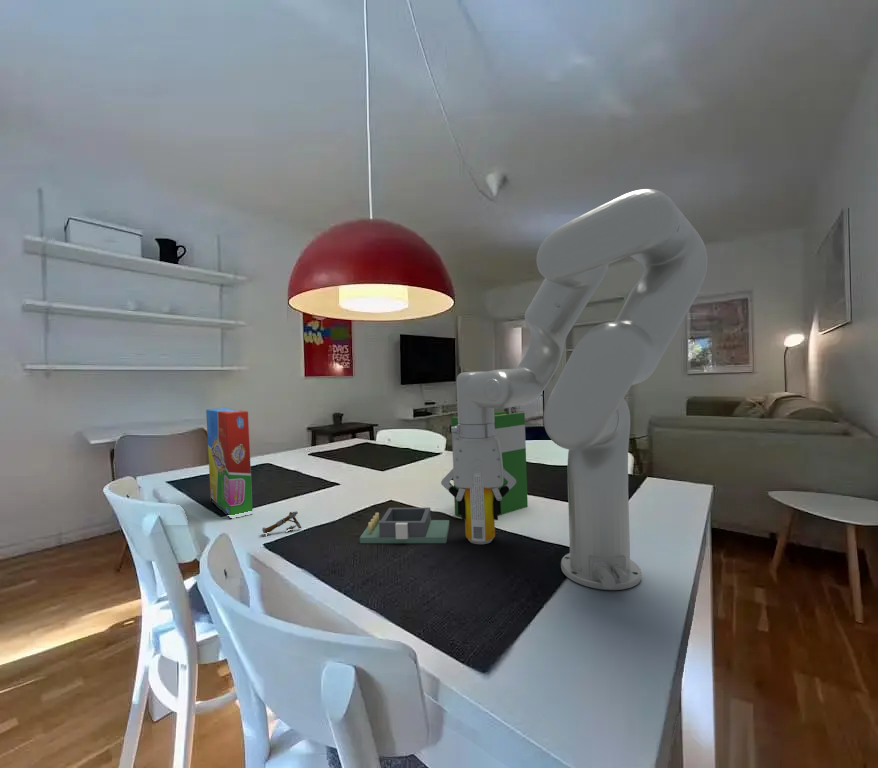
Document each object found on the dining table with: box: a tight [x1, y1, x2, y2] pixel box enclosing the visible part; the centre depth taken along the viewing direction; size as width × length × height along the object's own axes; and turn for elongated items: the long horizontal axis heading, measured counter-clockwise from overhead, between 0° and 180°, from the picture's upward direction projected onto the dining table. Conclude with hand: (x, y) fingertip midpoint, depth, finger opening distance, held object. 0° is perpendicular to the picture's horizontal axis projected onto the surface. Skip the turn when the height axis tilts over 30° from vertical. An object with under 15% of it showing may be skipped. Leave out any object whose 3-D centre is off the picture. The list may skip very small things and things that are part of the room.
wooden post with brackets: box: [261, 511, 302, 534], centre depth 94 cm, size 2×8×4 cm, turn 110°
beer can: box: [464, 473, 496, 545], centre depth 86 cm, size 6×6×15 cm
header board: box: [359, 507, 450, 544], centre depth 90 cm, size 11×18×4 cm, turn 85°
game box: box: [205, 407, 253, 515], centre depth 113 cm, size 21×6×27 cm, turn 42°
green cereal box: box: [450, 410, 529, 519], centre depth 103 cm, size 18×7×24 cm, turn 125°
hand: (479, 517), depth 86 cm, fingers closed on beer can, 6 cm apart
